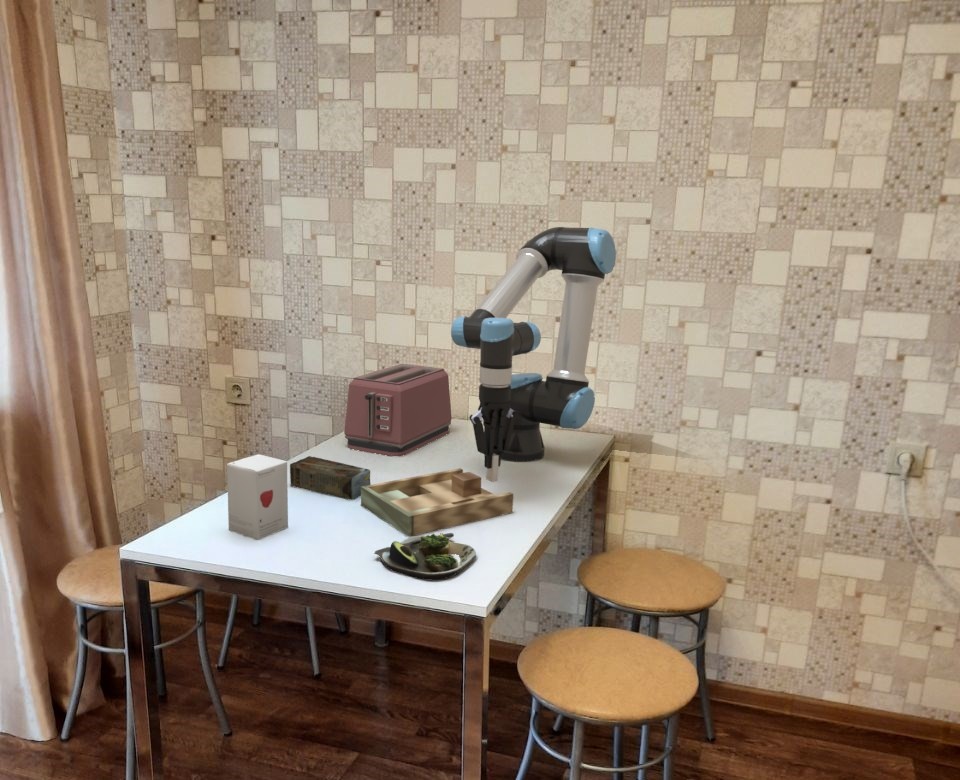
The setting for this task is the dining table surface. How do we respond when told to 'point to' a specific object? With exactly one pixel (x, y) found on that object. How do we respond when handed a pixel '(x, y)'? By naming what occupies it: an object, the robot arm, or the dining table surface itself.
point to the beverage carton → (329, 477)
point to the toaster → (397, 409)
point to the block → (466, 484)
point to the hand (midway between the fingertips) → (491, 480)
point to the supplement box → (257, 496)
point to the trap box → (430, 503)
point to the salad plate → (427, 556)
